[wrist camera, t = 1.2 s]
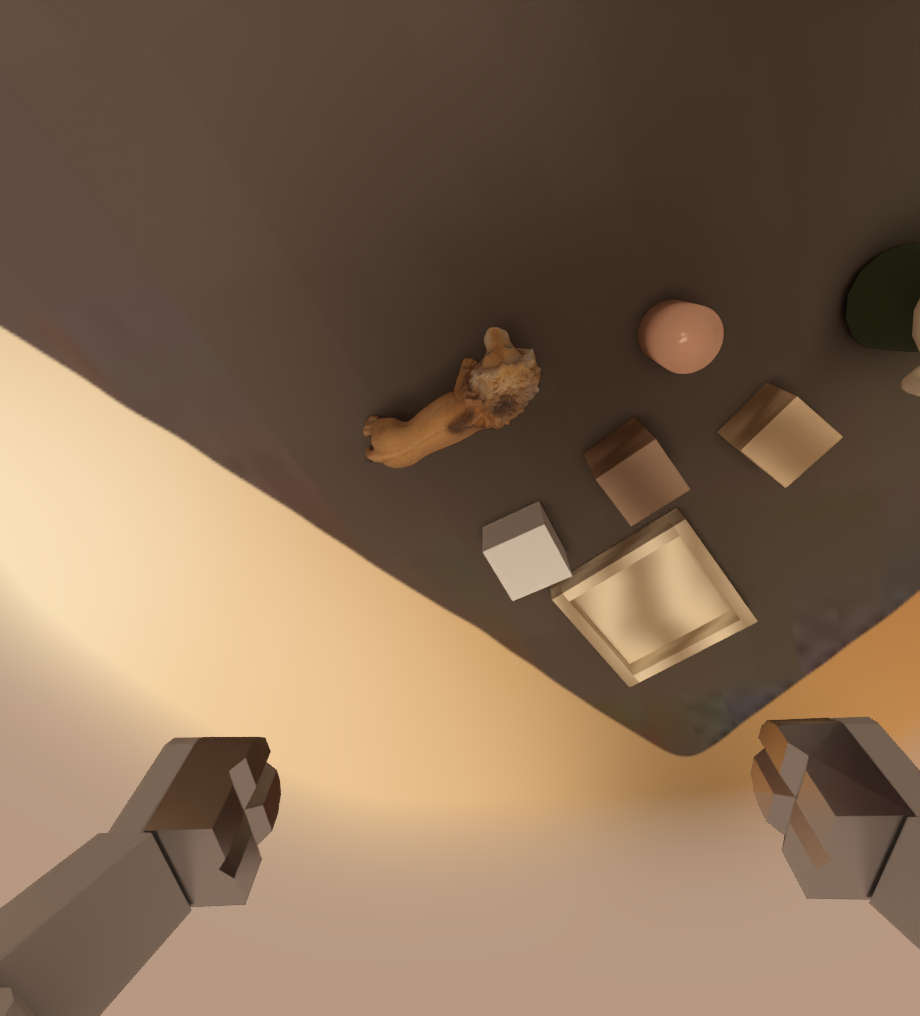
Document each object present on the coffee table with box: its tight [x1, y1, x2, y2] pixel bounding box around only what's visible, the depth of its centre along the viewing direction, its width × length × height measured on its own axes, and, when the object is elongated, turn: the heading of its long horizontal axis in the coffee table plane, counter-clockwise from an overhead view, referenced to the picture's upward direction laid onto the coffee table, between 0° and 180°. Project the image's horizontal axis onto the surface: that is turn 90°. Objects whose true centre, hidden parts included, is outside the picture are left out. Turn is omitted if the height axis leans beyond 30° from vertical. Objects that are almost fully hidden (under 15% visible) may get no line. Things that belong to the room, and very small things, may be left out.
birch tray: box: [549, 507, 758, 687], centre depth 44 cm, size 12×12×2 cm
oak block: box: [717, 382, 842, 488], centre depth 36 cm, size 4×4×4 cm
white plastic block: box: [482, 501, 572, 601], centre depth 41 cm, size 5×5×4 cm
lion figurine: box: [363, 327, 541, 468], centre depth 34 cm, size 15×5×9 cm, turn 129°
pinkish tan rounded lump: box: [638, 299, 724, 374], centre depth 33 cm, size 4×4×4 cm
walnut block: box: [582, 417, 690, 526], centre depth 37 cm, size 4×4×5 cm
